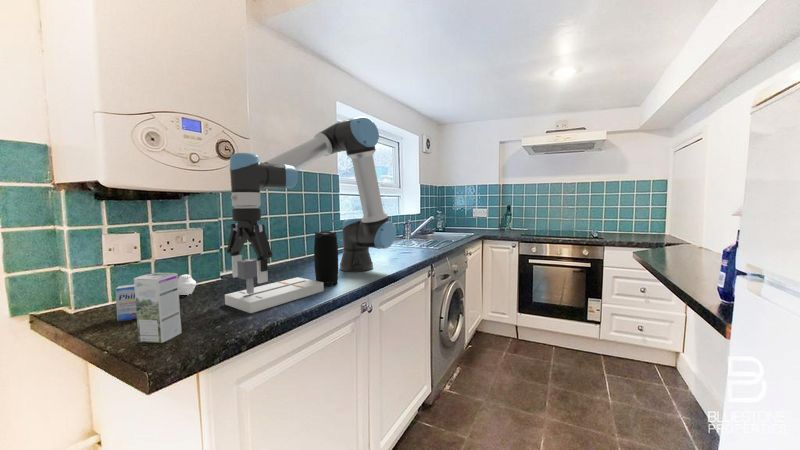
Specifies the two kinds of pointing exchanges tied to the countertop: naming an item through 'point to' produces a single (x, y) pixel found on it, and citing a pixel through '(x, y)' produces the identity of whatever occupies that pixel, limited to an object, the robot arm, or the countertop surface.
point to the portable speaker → (326, 257)
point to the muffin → (186, 284)
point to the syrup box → (157, 307)
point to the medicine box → (125, 302)
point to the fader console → (273, 294)
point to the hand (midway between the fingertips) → (249, 279)
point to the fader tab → (248, 272)
